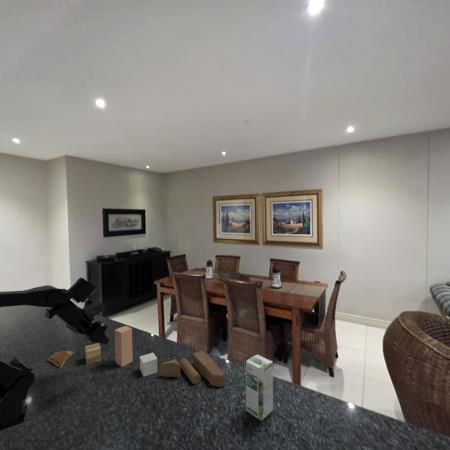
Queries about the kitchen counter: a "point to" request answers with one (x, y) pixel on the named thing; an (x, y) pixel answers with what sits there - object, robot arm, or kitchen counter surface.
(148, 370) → the grey plastic cube
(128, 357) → the terracotta block
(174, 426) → the kitchen counter surface
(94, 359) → the honey oak cube
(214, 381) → the wooden block set
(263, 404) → the syrup box
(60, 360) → the shard
